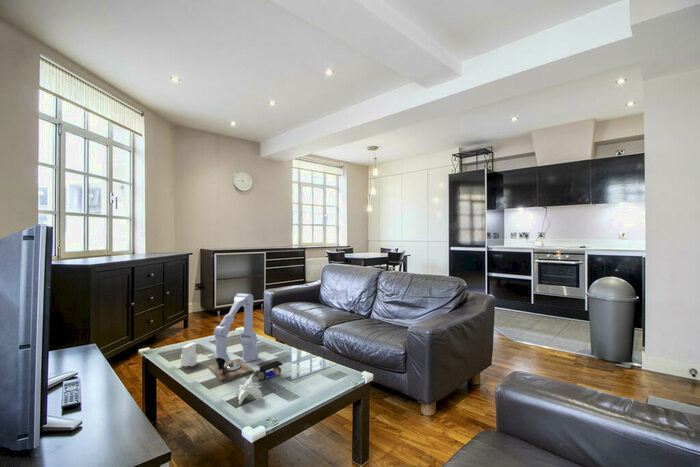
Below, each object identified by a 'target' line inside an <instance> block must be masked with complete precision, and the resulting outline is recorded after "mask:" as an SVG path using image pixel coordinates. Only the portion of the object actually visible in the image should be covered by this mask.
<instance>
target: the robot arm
mask: <svg viewBox="0 0 700 467" xmlns="http://www.w3.org/2000/svg"><path fill="white" fill-rule="evenodd" d="M241 307H243V313H244V314H243V331H242V332H241V333H240V338H239V343H240V345H241V347H242V357H240V358H239V359H241V360H242V361H243V362H244V363H248V362H252V361H255V360H256V361H257V360H259V359H260V358H259V345H258V344H257V342H258V336H257V332H255V331H254V328H253V324H254V323H253V322H254V321H253V319H254V316H253V315H254V313H253V312H254V310H253V309H254V296H253V295H252V293H240V292H238V293H236V295H235V296H234V298H233V304H232V306H231V308H230V310H229V312H228V313H226V314H225V315H224V317H223V318H222V320H221V322H220V323H219V325H217V326H216V327H215V328H214V331H213V334H214V338H215V351H213V358H215V362H216V364H218V368H219V371H220V369H221V368H223V367H224V364H225V362H227V361H230V356H229V355H228V354H227V353H228V352H227V351H228V350H227V349H228V348H227V347H228V339H227V338H228V335H229V333H230V328H231V325H232V323H234V320H235V315H236V314H237V313H238V311H239V309H240V308H241Z"/></svg>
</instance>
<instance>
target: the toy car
mask: <svg viewBox="0 0 700 467" xmlns="http://www.w3.org/2000/svg"><path fill="white" fill-rule="evenodd" d="M280 366H283V363H281V361H278V360H276V361H272V362H269V363H266V364H264V365H262V366H259V369H255V370H254V372H253V376H254V377H255V378H258V381H260V382H261V383H263V382H264V381H266V380H267V379H269V378H273V377H274V376H275V377H278V376H280V375H281V373H282V369H281V367H280Z"/></svg>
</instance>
